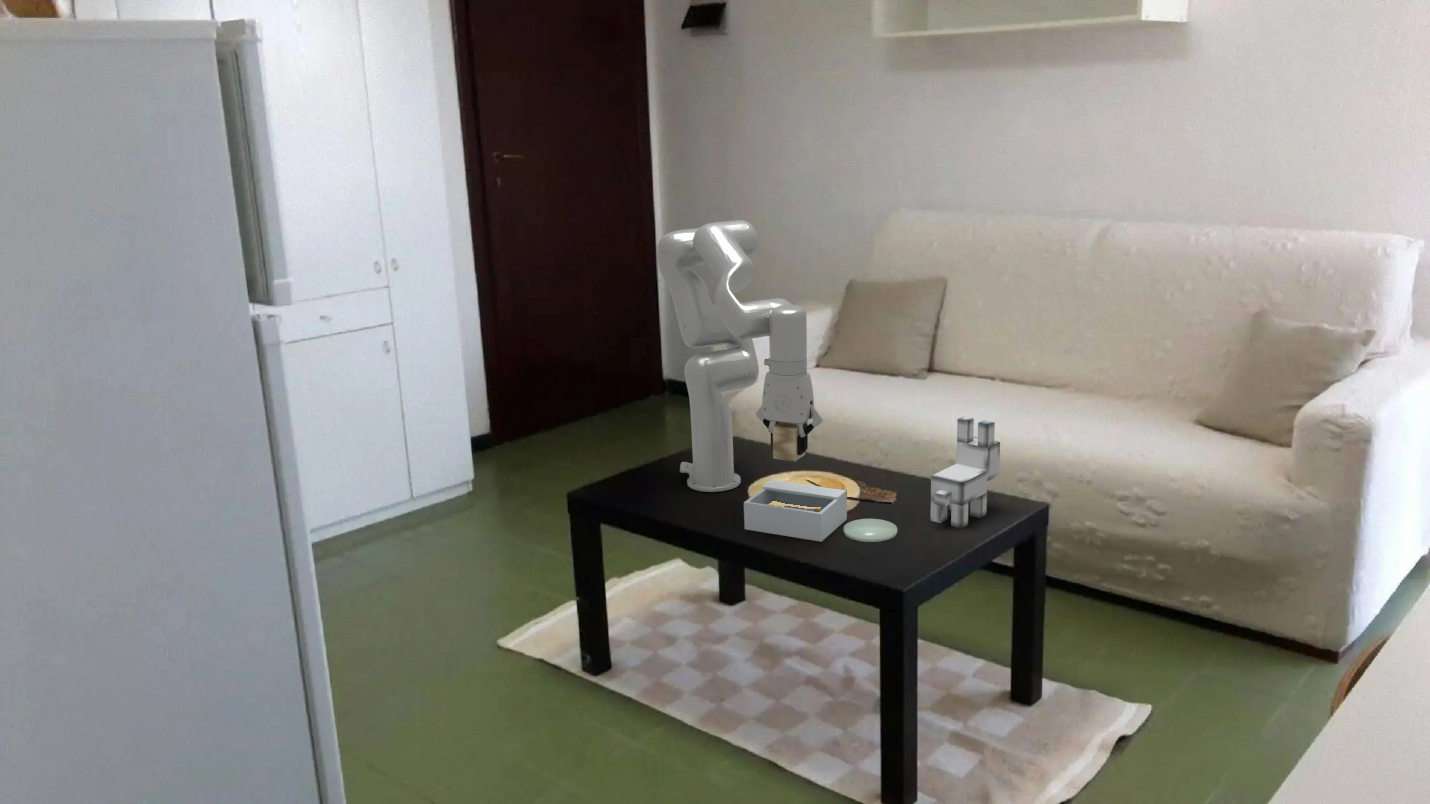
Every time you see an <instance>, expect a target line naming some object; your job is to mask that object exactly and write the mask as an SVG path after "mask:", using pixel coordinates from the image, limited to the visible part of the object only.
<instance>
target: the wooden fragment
mask: <svg viewBox="0 0 1430 804" xmlns="http://www.w3.org/2000/svg"><path fill="white" fill-rule="evenodd" d="M854 481H855V482H856V483H857V484H858V486H859V487H860V496H859V498H858V499H857V500H864V501H873V502H881V503H882V502H883V503H886V502H887V503H891V504H892V505H893V504H894V503H895V502H896V501H897V499H898V498H897V496H898V493H897V492H896V491H892V490H888V489H882V488H879V487H877V486H876V487H875V486H874V487H872V486H869V485H868V484H867V483H866V482H864V481H861V480H854Z"/></svg>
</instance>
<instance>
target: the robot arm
mask: <svg viewBox="0 0 1430 804" xmlns="http://www.w3.org/2000/svg"><path fill="white" fill-rule="evenodd" d="M759 244H760V243H759V235H758V232H757V231H756V229H755V227H754V226H753V224H751V223H750V222H748V221H747V220H743V219H736V220H727V221H726V220H724V221H715V222H709V223H706V224H704V225H702V226H700V227H697V228H685V229H679V230H674V231H671V232H668V233H666V234H664V235H662V236H661V238H659V240H658V243H657V248H656V260H657V265H658V268H659V269H658V270H659V271H660V274H661V275H662V278H663V280H664V282H665V284H666V286H667V288H668V290H669V292H670V295H671V298H672V302H673V303H672V304H673V307H674V311H675V315H676V319H677V323H678V327H679V331H680V335H681V338H682V340H683V342H684V344H685V345H686V346H687V347H688V348H691V349H702V348H710V347H717V346H722V345H724V346H725V347H726V349H721V350H720V349H719V350H713V351H712V350H711V351H707V352H702V353H699V354H695V355H694V356H691V357H690V358H689V359H688V360H687V361H686V362H685V366H684V370H683V371H684V379H685V384H686V388H687V392H688V398H689V399H688V400H689V408H690V409H689V410H690V425H691V445H692V446H691V447H692V449H691V450H692V451H691V452H692V463H690V462H688V461H681V463H680V465H679V467H680V468H679V472H680V473H684V474H688V476H689V477H687V480H686V483H687V486H688V487H689V488H690V489H692V490H695V491H699V492H705V493H707V492H708V493H717V492H726V491H729V490H733V489H735V488H737V487H738V486H739V485H740V484H741V481H742V480H741V479H742V478H741V476H740V475H739V474H738V473H736V472H735V468H734V442H733V441H734V440H733V439H734V437H733V415H732V409H731V406H730V404H729V403H728V402H727V401H726V399H725V398H724V396H723V395H722V393H724V392H729V391H734V390H739V389H745V388H748V387H751V386H753V385H754V384H756V383H757V381H758V379H759V375H760V374H759V373H760V369H759V361H758V358H757V354H756V350H755V346H754V341H753V339H759V338H765V337H769V341H768V342H769V358H764V360H763V364H764V366H767V367H768V370H769V371H766V373H765V377H764V382H763V389H762V402H761V403H762V404H761V406H760V407H759V408H758V410H757V411H756V413H755V416H756V417H757V418H758V419H759V420H760V421H761V422H762V423H763V425H764V426H765V427H766V428H767V431H768V433H770V446H771V450H772V452H773V426H774V425H775V424H777V423H778V422H782V423H790V424H797V428H798V432H799V436H798V437H797V454H798V455H802V454H803V453H805V454H806V452H807V450H808V446H809V445H808V441H809V439H808V438H809V437H808V434H810V433H811V432H812V431H813V430H814V429H816V428H817V427H818V426H819V425H821V424H822V423H823V422H824V420H823V418H822V417H821V415H820V414H819V413H818V411H817V410H816V408H815V399H814V397H815V396H814V388H813V383H812V382H813V381H812V377H811V374H810V372H808V357H807V355H808V352H807V351H808V347H807V346H808V345H807V343H808V342H807V341H808V339H807V337H808V335H807V333H808V332H807V329H808V328H807V325H808V324H807V311H806V309H805V308H803V307H802V306H800V305H797V304H796V305H795V304H794V305H793V304H792V303H791V302H790V301H789V300H788V299H785V298H779V297H776V298H769V299H760V300H753V301H746V302H740V301H739V299H738V298H737V297H736V294H737V293H738V292H740V291H741V290H743V289H744V288H745V287H747V285H749V283H751V281H752V279H753V277H754V275H755V265H754V262H753V261H752V259H750V258H751V257H752V256H753V255H755V254H756V252H757V251H758V248H759ZM698 266H706V267H707V269H708V271H709V272H710V274H712V276H713V277H714V279H715V281H716V282H717V285H716V288H715V292H714V293H715V294H714V301H715V304H714V303H712V300H711V298H710V297H711V296H710V293H709V288H708V286H707V284H706V282H705V281H704V280H703V278H702V277H700V275H699V274H698V273H696V272H695V271H694V270H692V269H691V267H698ZM809 420H812V422H811V423H809V422H808V421H809Z"/></svg>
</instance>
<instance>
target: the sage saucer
mask: <svg viewBox="0 0 1430 804" xmlns="http://www.w3.org/2000/svg"><path fill="white" fill-rule="evenodd" d="M843 533H844V536H845V537H847V538H848V539H851V540H854V541H857V542H862V543H863V542H864V543H881V542H885V541H889V540H891V539H893V538H895V537H896V536H897V534H898V527H897V525H896V524H895V523H893V522H890V521H888V520H886V519H885V520H884V519H879V518H861V519H856V520H852V521H848V522H847V523H846V524H844V526H843Z"/></svg>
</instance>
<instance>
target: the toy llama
mask: <svg viewBox="0 0 1430 804" xmlns="http://www.w3.org/2000/svg"><path fill="white" fill-rule="evenodd" d="M974 421H975V418H974V417H969V416H961V417H959V418H957V422H956V423H957V425H956V427H957V428H956V463H955V464H953V465H951V466H948V467H947V468H945V469H942V470H940V471H938V472H936V473H934V474H931V476H930V521H931V522H935V523H939V524H942V523H944V522H945V521H947V520H948V506H949V512H950V515H951V518H950V526H951V527H954V528H956V529H957V528H958V529H963V528H965V527H967V526H968V525H969V516H971V517H975V518H979V519H981V518H983V517H985V516H986V515H987V510H988V509H987V508H988V507H987V505H988V504H987V502H988V500H987V499H988V482H990V481H991V480H993V479H995V478H997V477H998V476H1000V465H1001V464H1000V459H1001V458H1000V456H1001V442H1000V441H997V440H995V430H996V429H995V426H996V425H995V423H996V422H995V421H991V420H982V421H980V422H978V423H977V437H976V436H974V430H975V429H974V427H975V425H974V423H975V422H974Z"/></svg>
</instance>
